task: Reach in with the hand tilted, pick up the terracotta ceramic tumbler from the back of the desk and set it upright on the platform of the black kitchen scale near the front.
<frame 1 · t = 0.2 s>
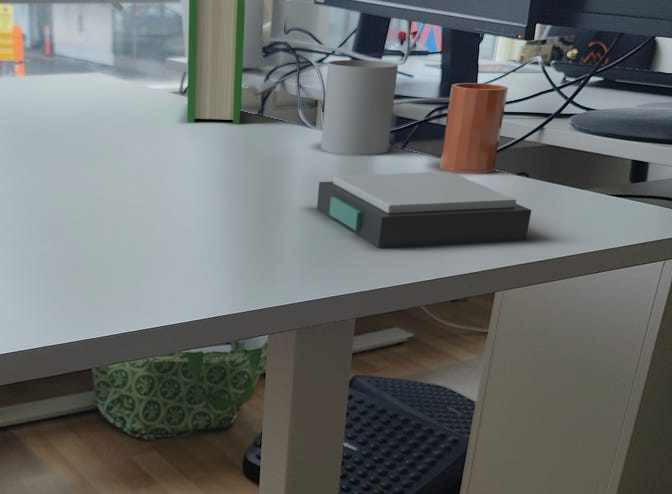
hardback book: (215, 116, 144), on the table
scale: (416, 226, 87), on the table
cup: (353, 152, 121), on the table
tumbler: (466, 170, 111), on the table
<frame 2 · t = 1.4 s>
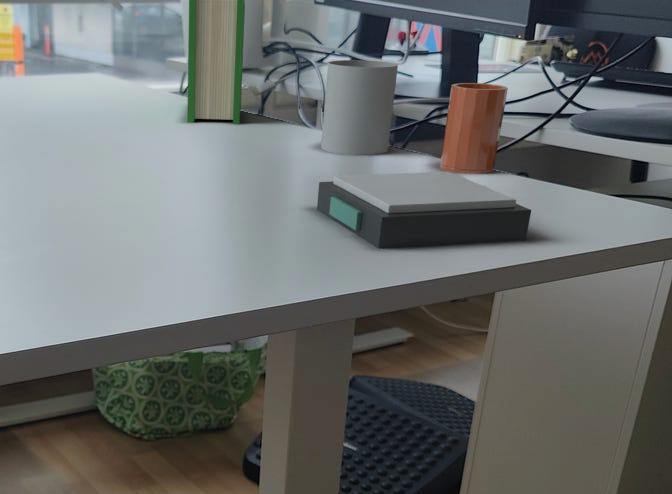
nothing on the table moved.
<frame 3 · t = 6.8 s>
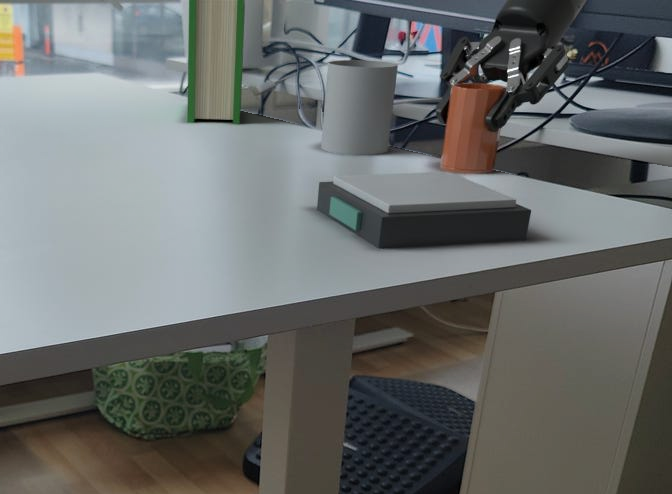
hand: (464, 122, 107), 5 cm above the table, tool tilted 45°, fingers closed on tumbler, 6 cm apart
tumbler: (466, 170, 111), on the table, touching gripper
everything else where it was.
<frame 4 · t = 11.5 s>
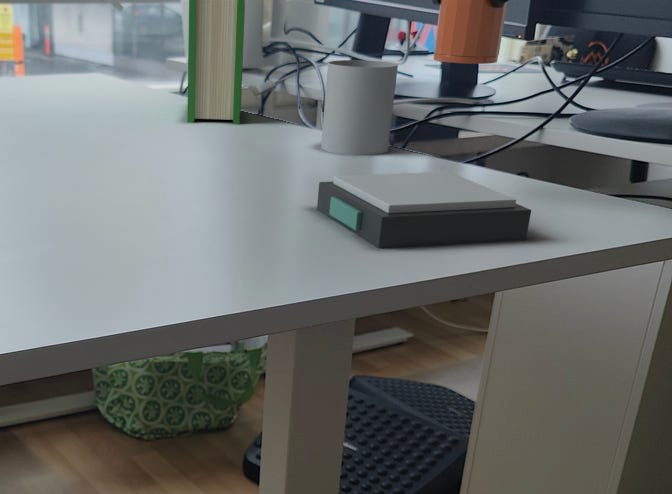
tumbler: (465, 60, 92), point 13 cm above the table, touching gripper
everything else where it was.
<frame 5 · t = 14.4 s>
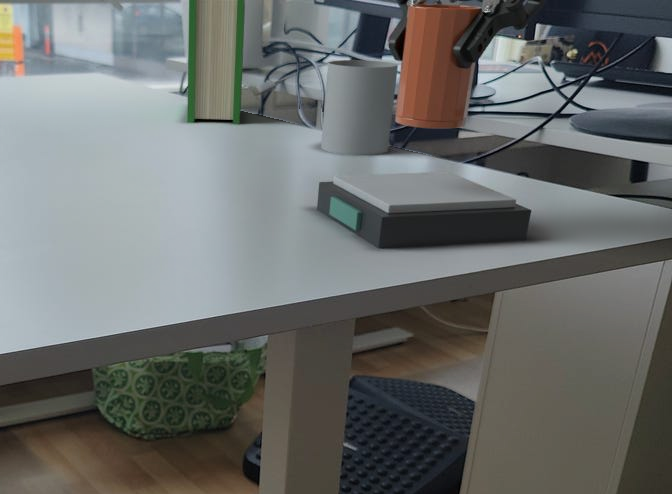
hand: (426, 56, 79), 14 cm above the table, tool tilted 45°, fingers closed on tumbler, 6 cm apart
tumbler: (429, 122, 83), point 9 cm above the table, touching gripper
everything else where it was.
when the fingers open (9 cm above the table, at t = 16.5 s): tumbler stays where it is, resting on scale.
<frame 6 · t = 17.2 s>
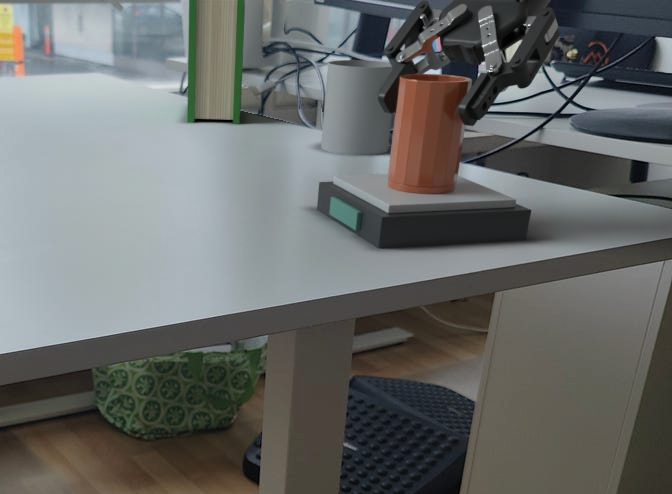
hand: (422, 112, 82), 10 cm above the table, tool tilted 45°, fingers open, 8 cm apart
tumbler: (420, 186, 86), point 3 cm above the table, touching scale
everything else where it was.
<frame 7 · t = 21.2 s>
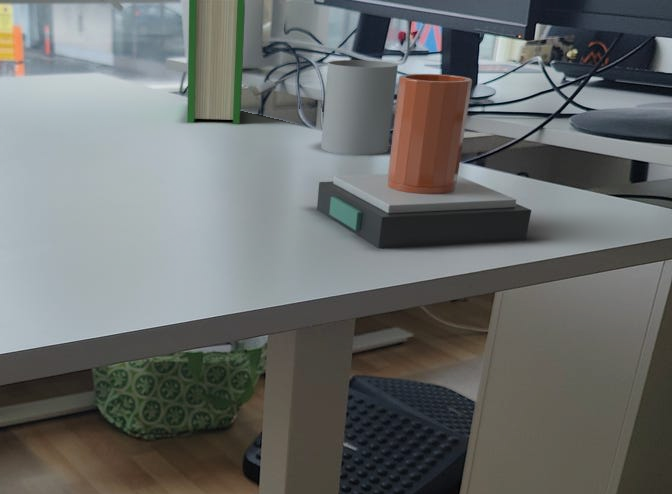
nothing on the table moved.
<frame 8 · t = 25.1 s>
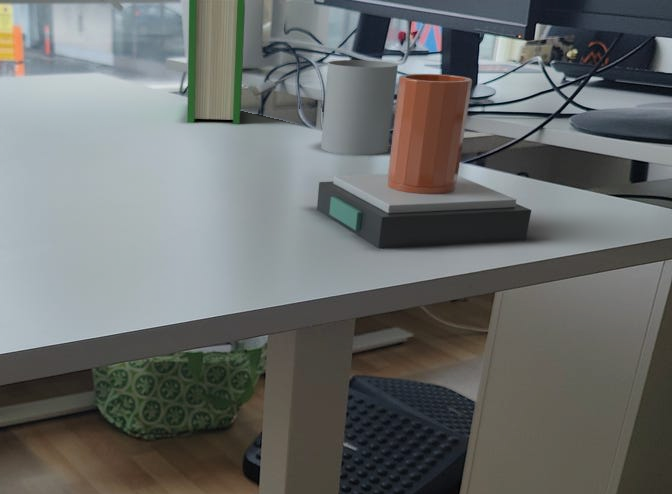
nothing on the table moved.
at the end: tumbler inside the target area on the scale (0.1 cm from its centre), point 3.5 cm above the scale's base; tumbler tilted 0°; the gripper is holding nothing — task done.
